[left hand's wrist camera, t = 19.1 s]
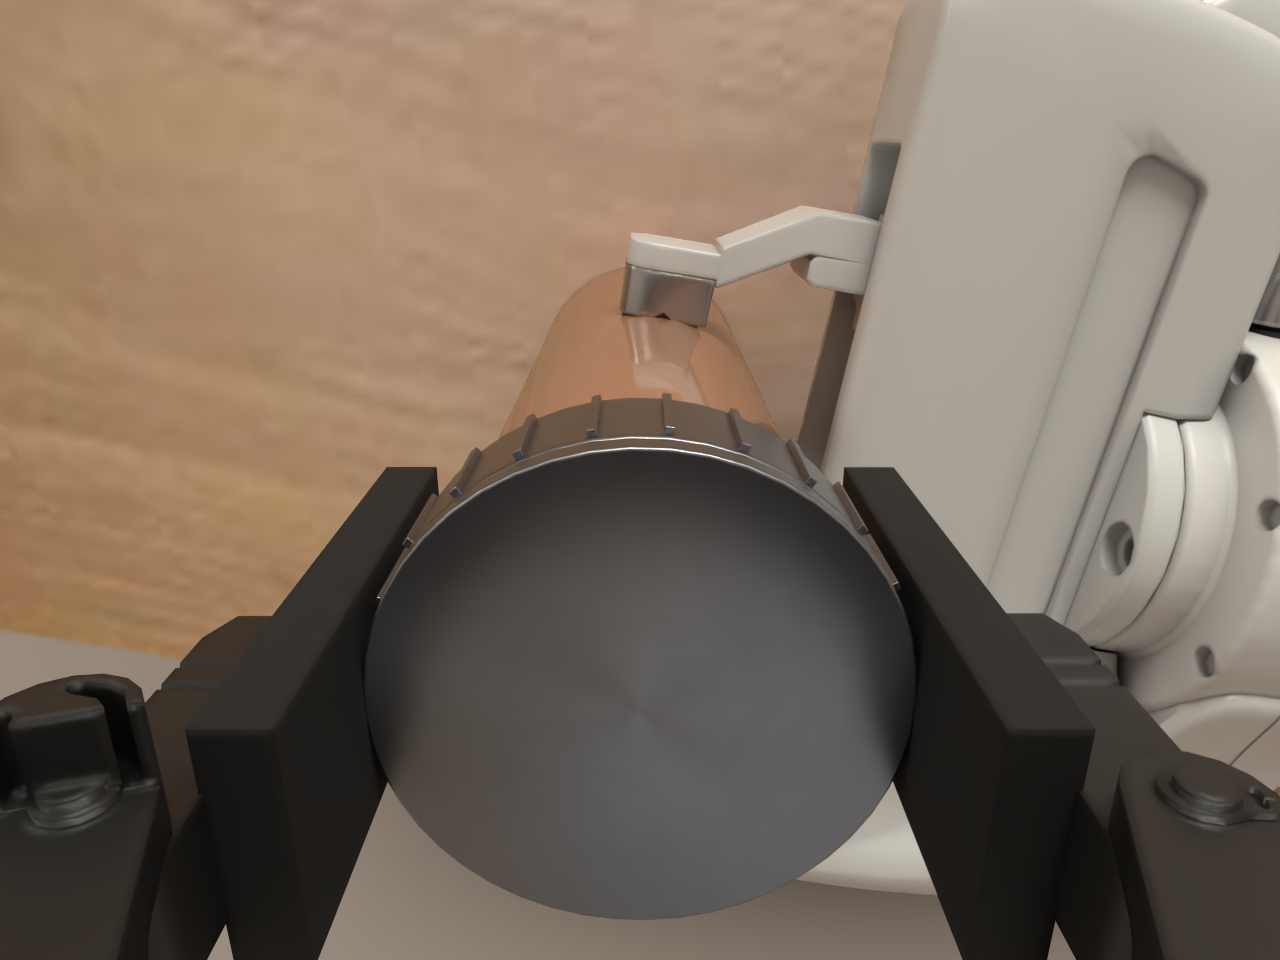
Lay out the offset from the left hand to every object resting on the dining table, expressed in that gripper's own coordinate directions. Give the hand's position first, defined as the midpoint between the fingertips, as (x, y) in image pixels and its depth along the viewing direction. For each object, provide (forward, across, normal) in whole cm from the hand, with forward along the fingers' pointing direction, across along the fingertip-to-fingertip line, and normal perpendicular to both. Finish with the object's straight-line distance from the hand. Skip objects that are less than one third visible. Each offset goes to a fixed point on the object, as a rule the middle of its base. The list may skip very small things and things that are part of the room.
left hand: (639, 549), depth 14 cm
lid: (-4, 0, 0) cm, 4 cm away
